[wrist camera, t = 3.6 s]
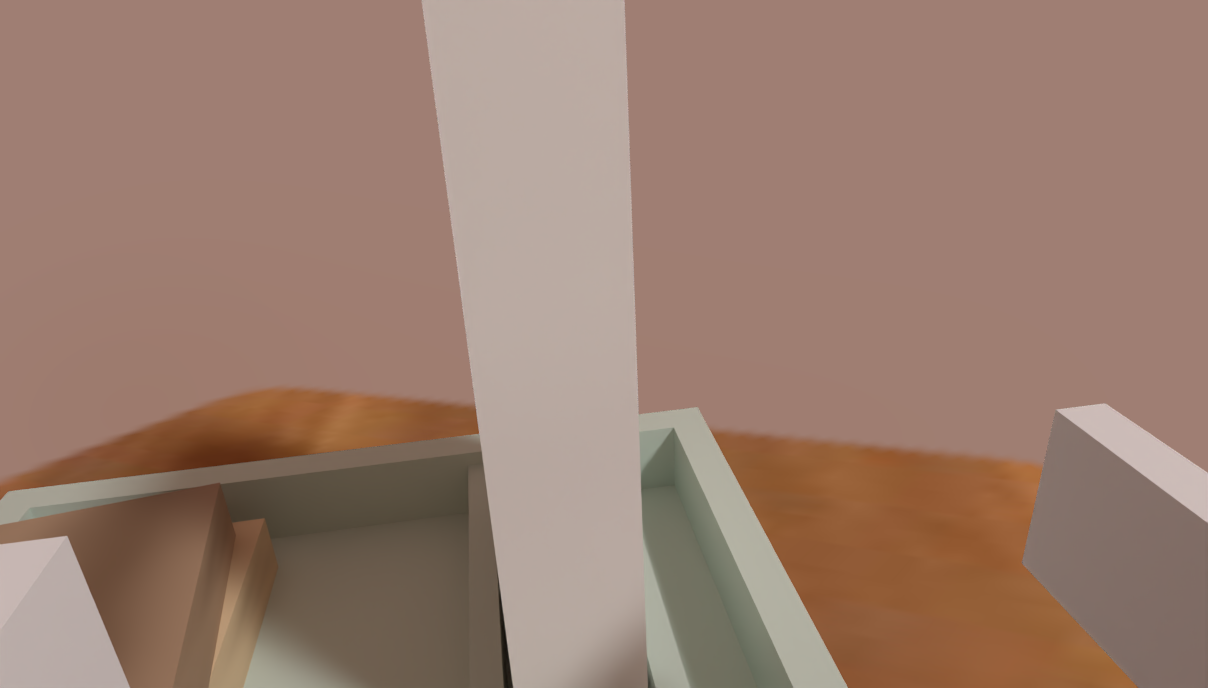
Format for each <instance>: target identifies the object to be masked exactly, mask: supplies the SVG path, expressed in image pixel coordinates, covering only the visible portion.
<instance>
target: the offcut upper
mask: <svg viewBox="0 0 1208 688" xmlns="http://www.w3.org/2000/svg"><path fill="white" fill-rule="evenodd" d="M62 536H67V537H68V539H69V541H70V544H71V546H72V549H73V551H74V554H75V556H76V558H77V561H78V563H79V566H80V568H81V570H82V573H83V575H84V578H85V580H86V583H87V585H88V587H89V590H90V592H91V595H92V597H93V599H94V602H95V604H96V607H97V609H98V611H99V614H100V616H101V619H102V621H103V624H104V626H105V628H106V631H107V633H108V636H109V638H110V640H111V643H112V645H113V648H114V650H115V653H116V655H117V657H118V660H119V662H120V665H121V667H122V669H123V672H124V674H125V677H126V679H127V682H128V684H129V686H130V688H209V682H210V677H211V671H212V666H213V660H214V654H215V649H216V643H217V638H218V632H219V627H220V621H221V615H222V610H223V604H224V599H225V593H226V588H227V582H228V576H229V571H230V565H231V560H232V554H233V549H234V543H235V538H236V534H235V531H234V527H233V524H232V521H231V517H230V514H229V511H228V508H227V504H226V501H225V498H224V494H223V491H222V488H221V484H220V483H215V484H210V485H205V486H199V487H194V488H189V489H184V490H179V491H173V492H168V493H163V494H158V495H153V496H148V497H142V498H137V499H132V500H127V501H122V502H117V503H111V504H106V505H101V506H96V507H91V508H86V509H80V510H75V511H70V512H65V513H60V514H55V515H49V516H44V517H39V518H34V519H29V520H24V521H18V522H13V523H8V524H3V525H0V544H7V543H15V542H23V541H31V540H39V539H47V538H54V537H62Z"/></svg>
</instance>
